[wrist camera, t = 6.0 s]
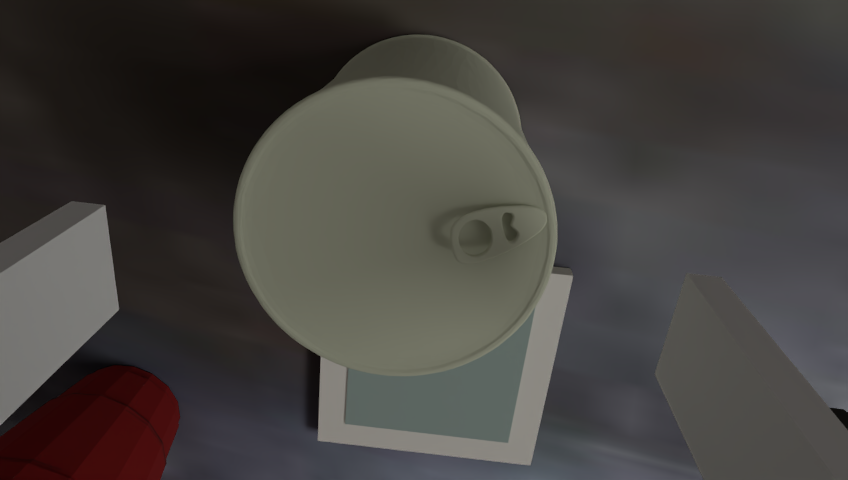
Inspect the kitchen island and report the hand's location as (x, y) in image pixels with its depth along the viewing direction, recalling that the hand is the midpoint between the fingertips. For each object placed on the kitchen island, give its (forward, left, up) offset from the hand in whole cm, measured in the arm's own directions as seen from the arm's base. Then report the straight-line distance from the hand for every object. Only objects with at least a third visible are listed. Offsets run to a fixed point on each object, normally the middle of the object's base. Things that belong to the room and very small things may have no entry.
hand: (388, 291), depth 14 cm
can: (0, 0, -15) cm, 15 cm away
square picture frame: (+2, -12, -15) cm, 19 cm away
